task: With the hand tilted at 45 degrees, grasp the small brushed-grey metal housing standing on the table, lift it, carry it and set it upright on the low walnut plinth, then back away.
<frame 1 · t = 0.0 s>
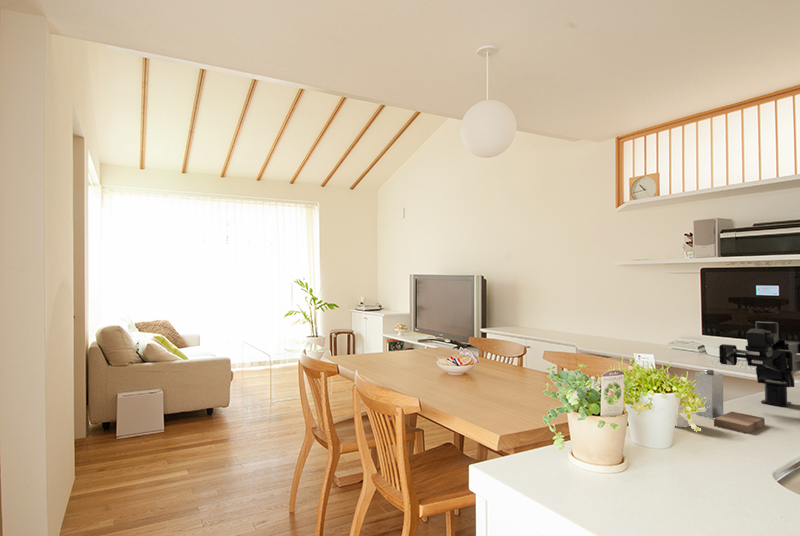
hand: (744, 360, 142), 17 cm above the table, tool horizontal, fingers open, 9 cm apart
plinth: (739, 425, 134), on the table
housing: (709, 415, 143), on the table
white cup: (677, 424, 135), on the table
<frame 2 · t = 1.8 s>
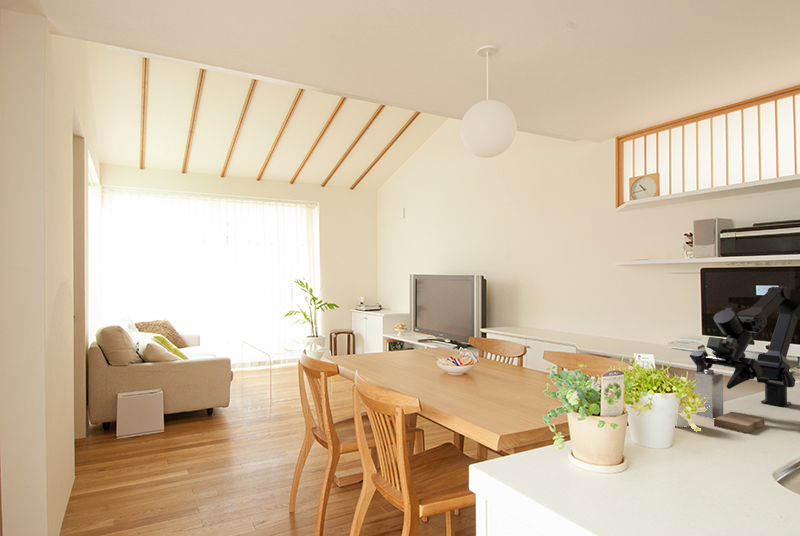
hand: (711, 384, 144), 9 cm above the table, tool tilted 45°, fingers open, 9 cm apart
nothing on the table moved.
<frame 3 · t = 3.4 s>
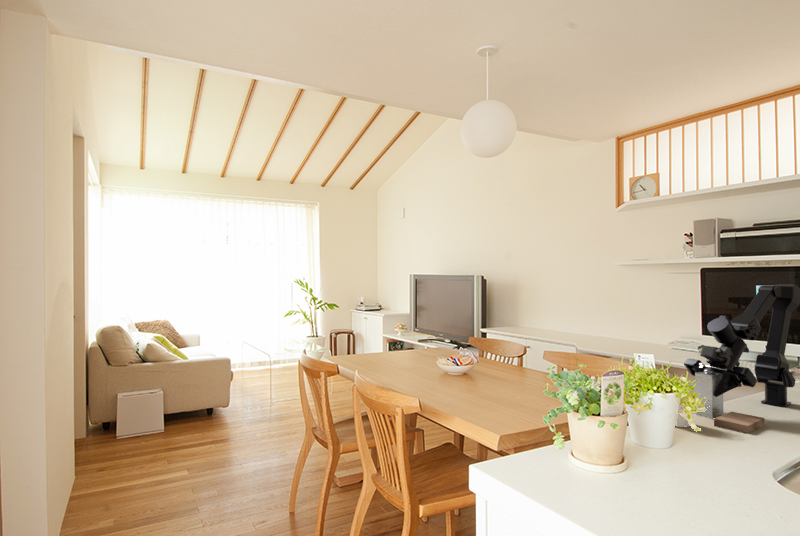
hand: (706, 393, 143), 7 cm above the table, tool tilted 45°, fingers closed on housing, 5 cm apart
housing: (709, 415, 143), on the table, touching gripper
everything else where it was.
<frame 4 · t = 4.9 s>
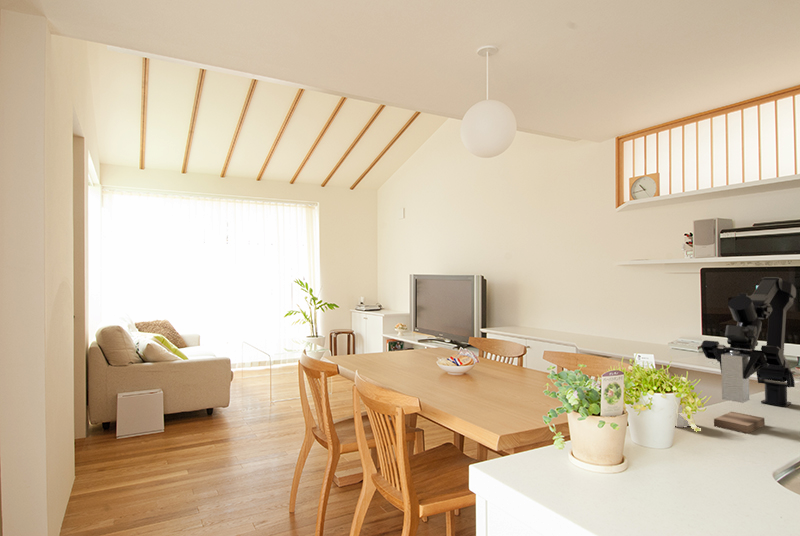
hand: (733, 376, 134), 14 cm above the table, tool tilted 45°, fingers closed on housing, 5 cm apart
housing: (735, 399, 135), point 7 cm above the table, touching gripper
everything else where it was.
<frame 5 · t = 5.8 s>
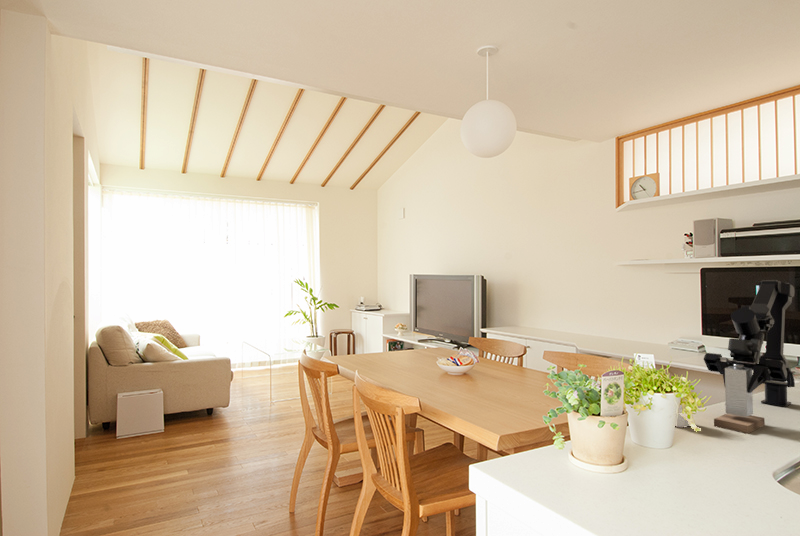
hand: (737, 390, 133), 10 cm above the table, tool tilted 45°, fingers closed on housing, 5 cm apart
housing: (739, 413, 134), point 3 cm above the table, touching gripper
everything else where it was.
when the fingers open (10 cm above the table, at t = 6.5 s): housing drops 1 cm, resting on plinth.
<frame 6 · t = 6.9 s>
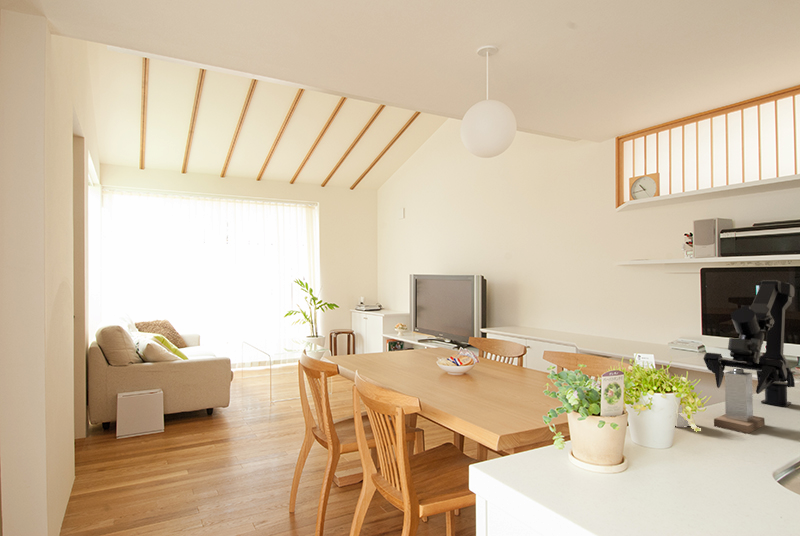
hand: (737, 389, 133), 10 cm above the table, tool tilted 45°, fingers open, 9 cm apart
housing: (739, 418, 134), point 2 cm above the table, touching plinth
everything else where it was.
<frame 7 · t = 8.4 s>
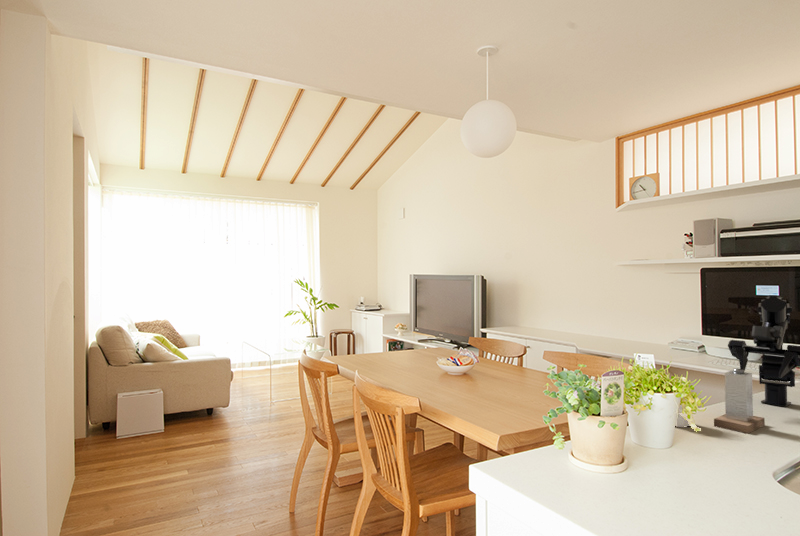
hand: (760, 374, 141), 13 cm above the table, tool tilted 45°, fingers open, 9 cm apart
nothing on the table moved.
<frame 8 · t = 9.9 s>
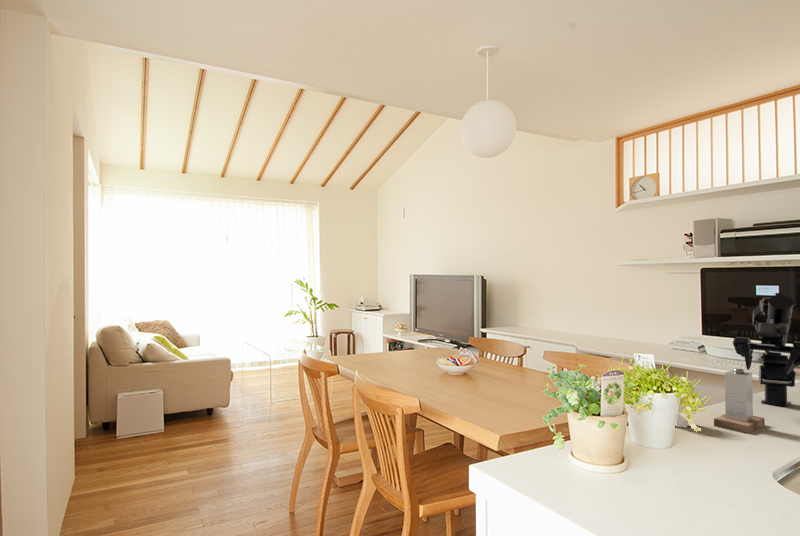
hand: (766, 371, 141), 14 cm above the table, tool tilted 45°, fingers open, 9 cm apart
nothing on the table moved.
at the end: housing inside the target area on the plinth (0.0 cm from its centre), point 2.0 cm above the plinth's base; housing tilted 0°; the gripper is holding nothing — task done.
